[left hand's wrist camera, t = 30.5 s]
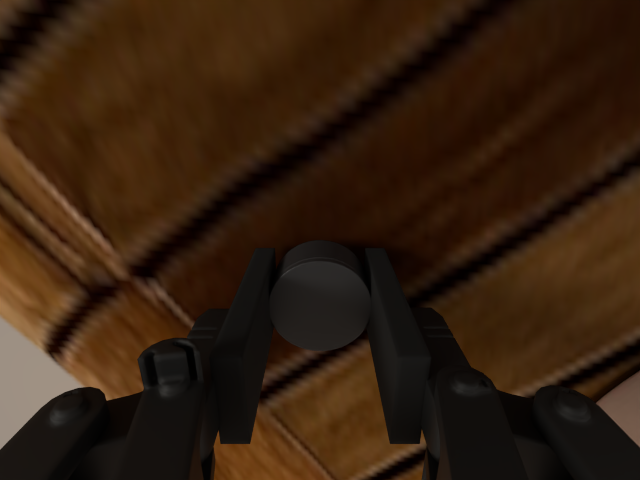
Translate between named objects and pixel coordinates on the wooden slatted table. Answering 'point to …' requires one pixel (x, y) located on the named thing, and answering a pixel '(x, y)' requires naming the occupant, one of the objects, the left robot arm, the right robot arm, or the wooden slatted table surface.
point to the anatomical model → (625, 406)
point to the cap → (320, 296)
